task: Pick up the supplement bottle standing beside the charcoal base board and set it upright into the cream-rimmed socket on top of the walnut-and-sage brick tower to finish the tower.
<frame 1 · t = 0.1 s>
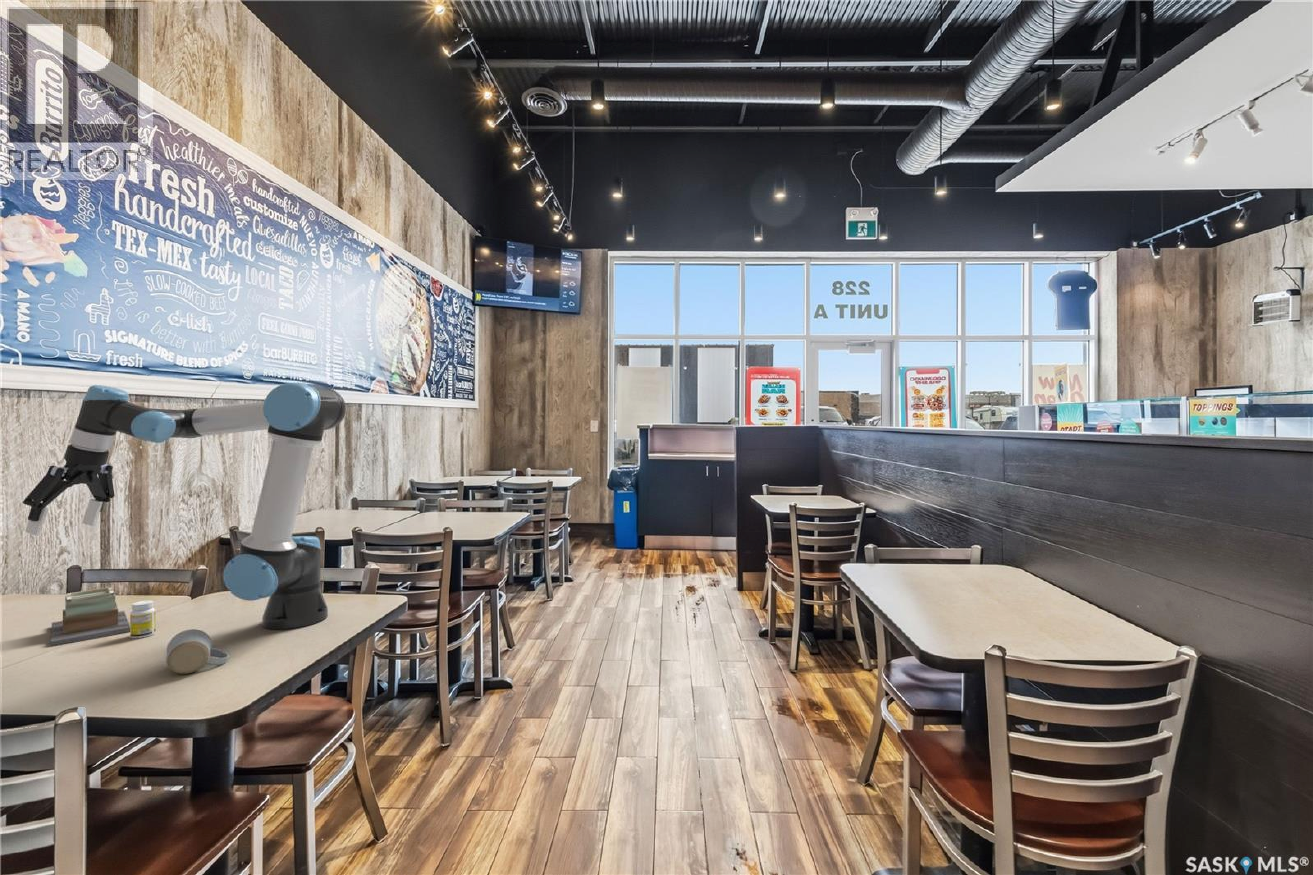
hand: (61, 528, 140), 28 cm above the table, tool tilted 20°, fingers open, 13 cm apart
ceramic mug: (197, 668, 125), on the table
supplement bottle: (143, 636, 144), on the table
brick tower: (90, 629, 149), on the table
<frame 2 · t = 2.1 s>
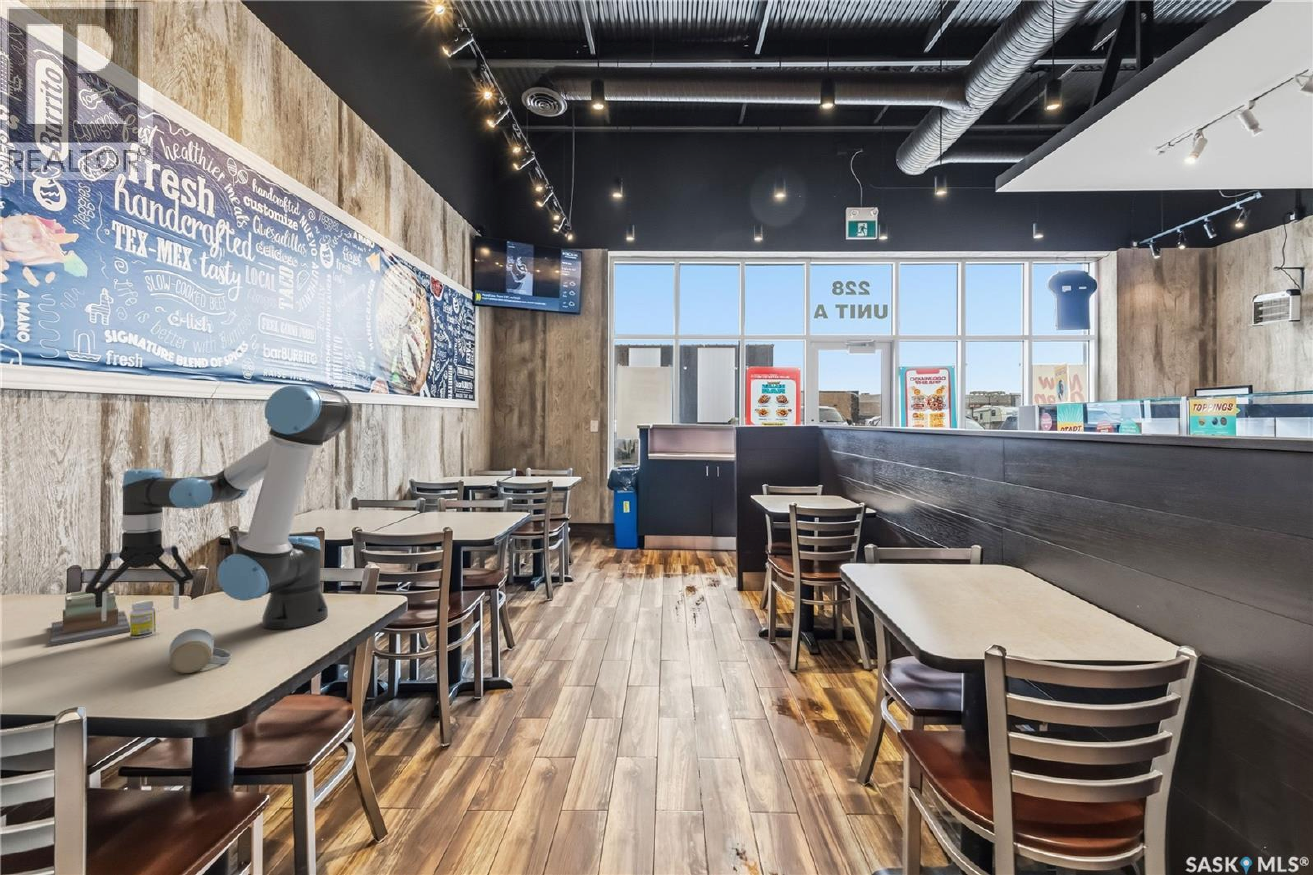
hand: (141, 613, 144), 5 cm above the table, tool pointing down, fingers open, 13 cm apart
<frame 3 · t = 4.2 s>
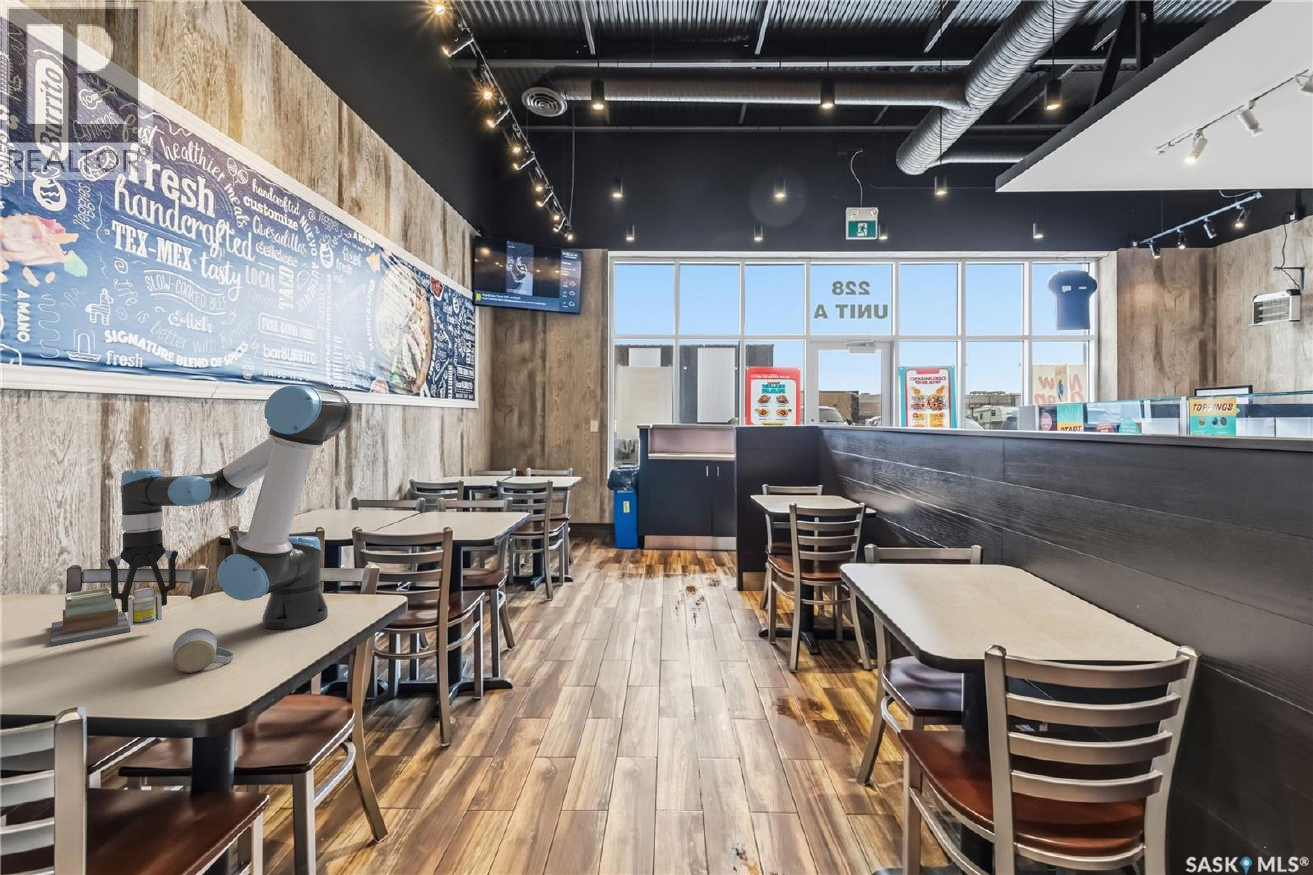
hand: (145, 621, 144), 4 cm above the table, tool pointing down, fingers closed on supplement bottle, 5 cm apart
supplement bottle: (145, 623, 144), point 3 cm above the table, touching gripper
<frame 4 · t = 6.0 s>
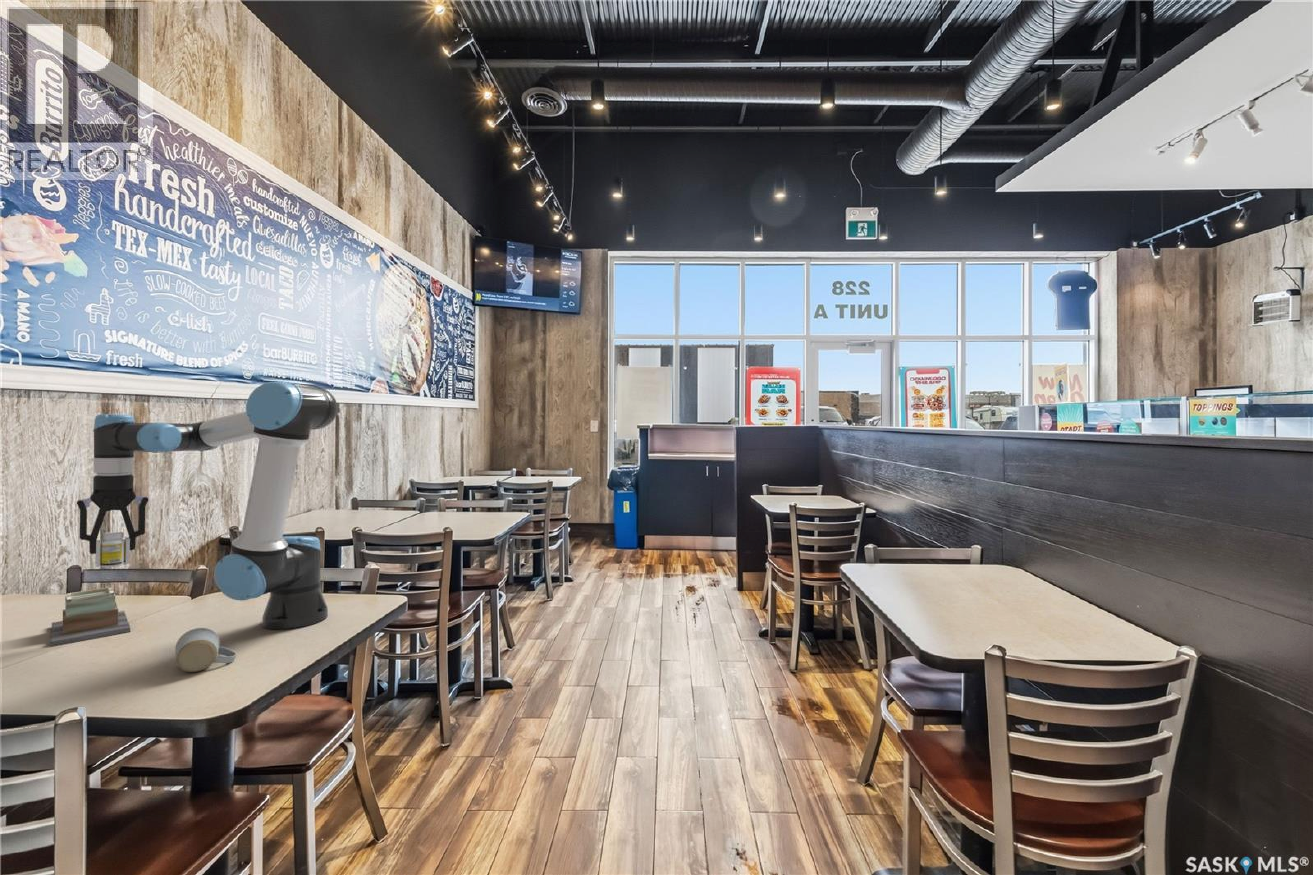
hand: (112, 564, 147), 18 cm above the table, tool pointing down, fingers closed on supplement bottle, 5 cm apart
supplement bottle: (112, 566, 146), point 17 cm above the table, touching gripper
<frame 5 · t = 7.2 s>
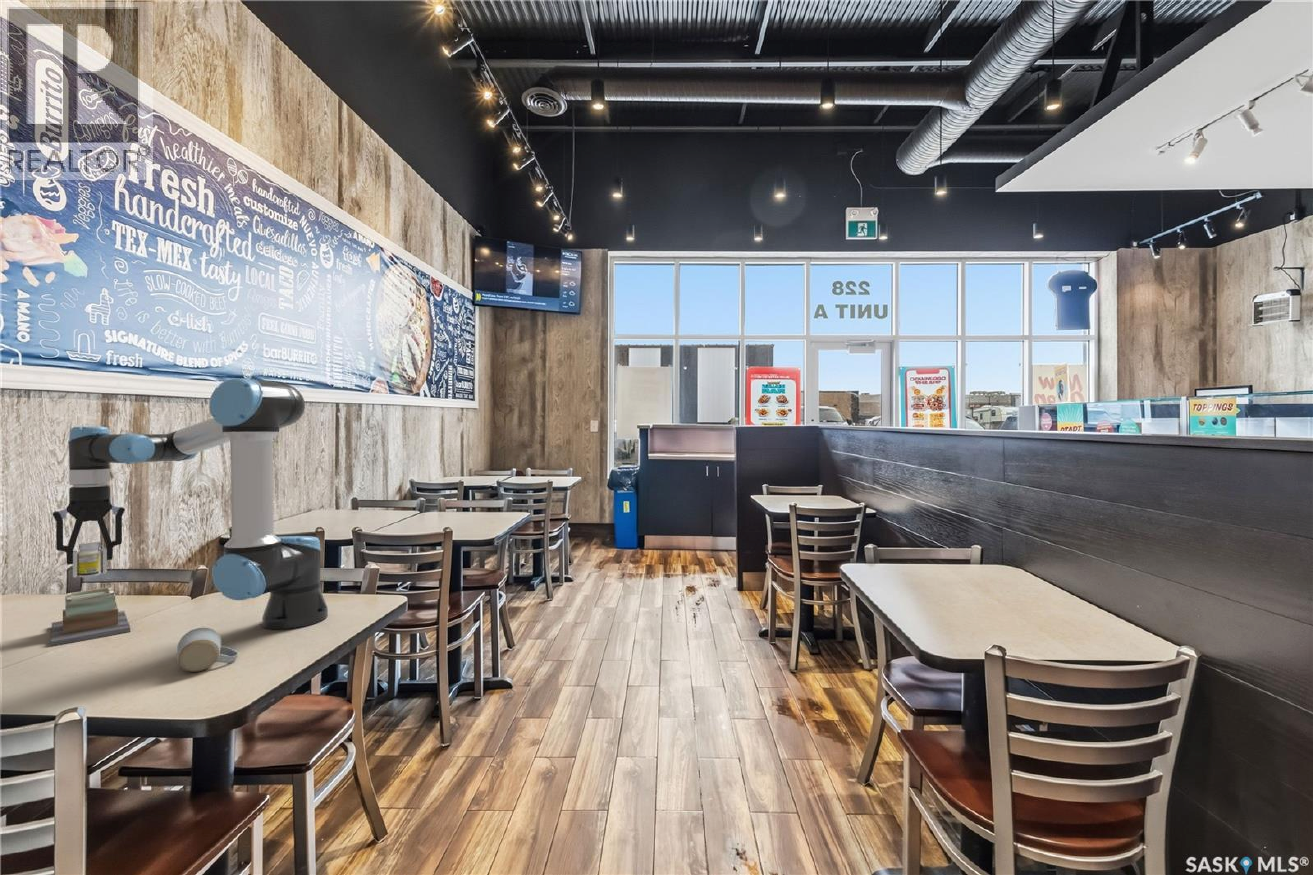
hand: (90, 574, 149), 14 cm above the table, tool pointing down, fingers closed on supplement bottle, 5 cm apart
supplement bottle: (89, 576, 149), point 14 cm above the table, touching gripper
when the fingers open (11 cm above the table, at t = 8.2 s): supplement bottle drops 2 cm, resting on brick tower.
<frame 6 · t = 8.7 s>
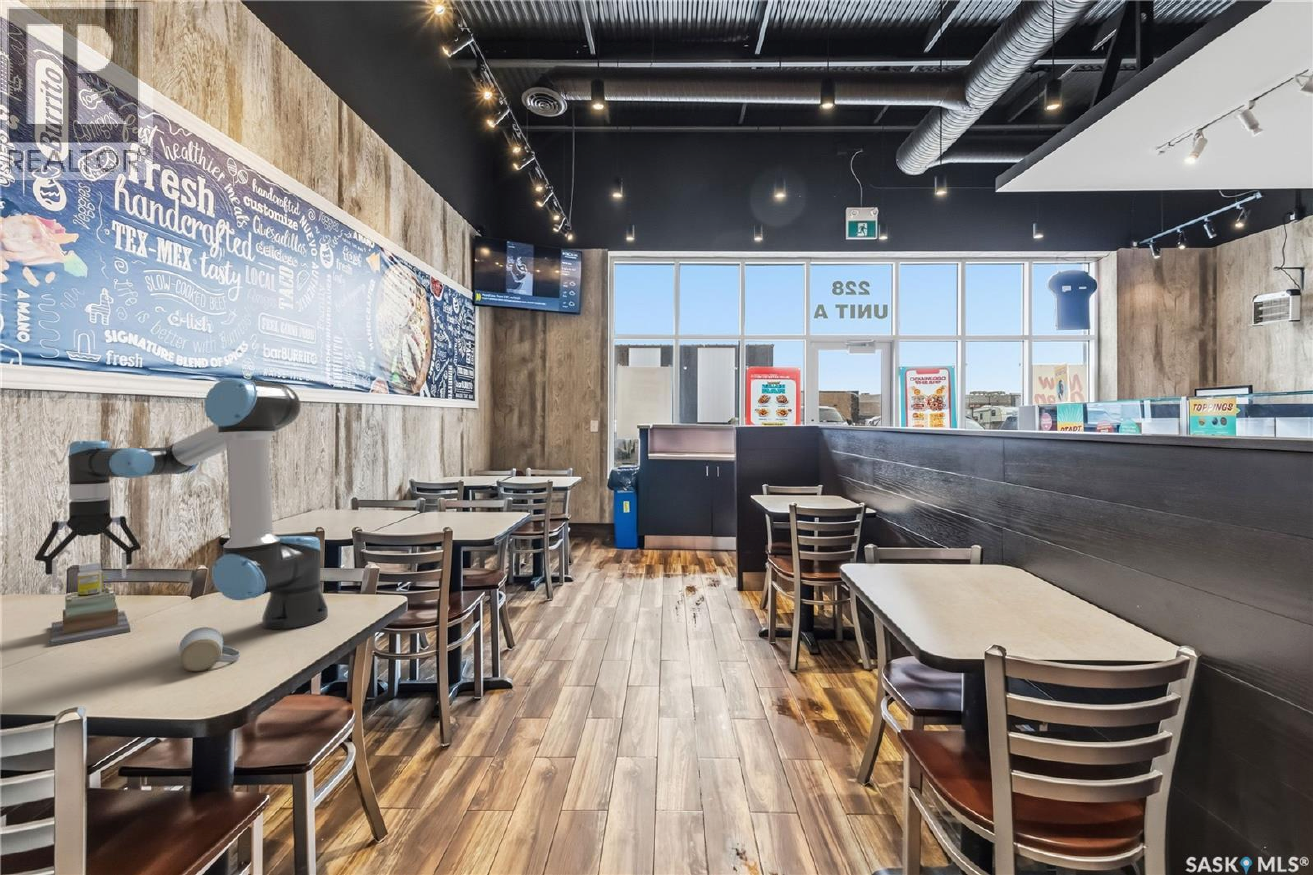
hand: (90, 582, 149), 12 cm above the table, tool pointing down, fingers open, 12 cm apart
supplement bottle: (90, 596, 149), point 9 cm above the table, touching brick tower
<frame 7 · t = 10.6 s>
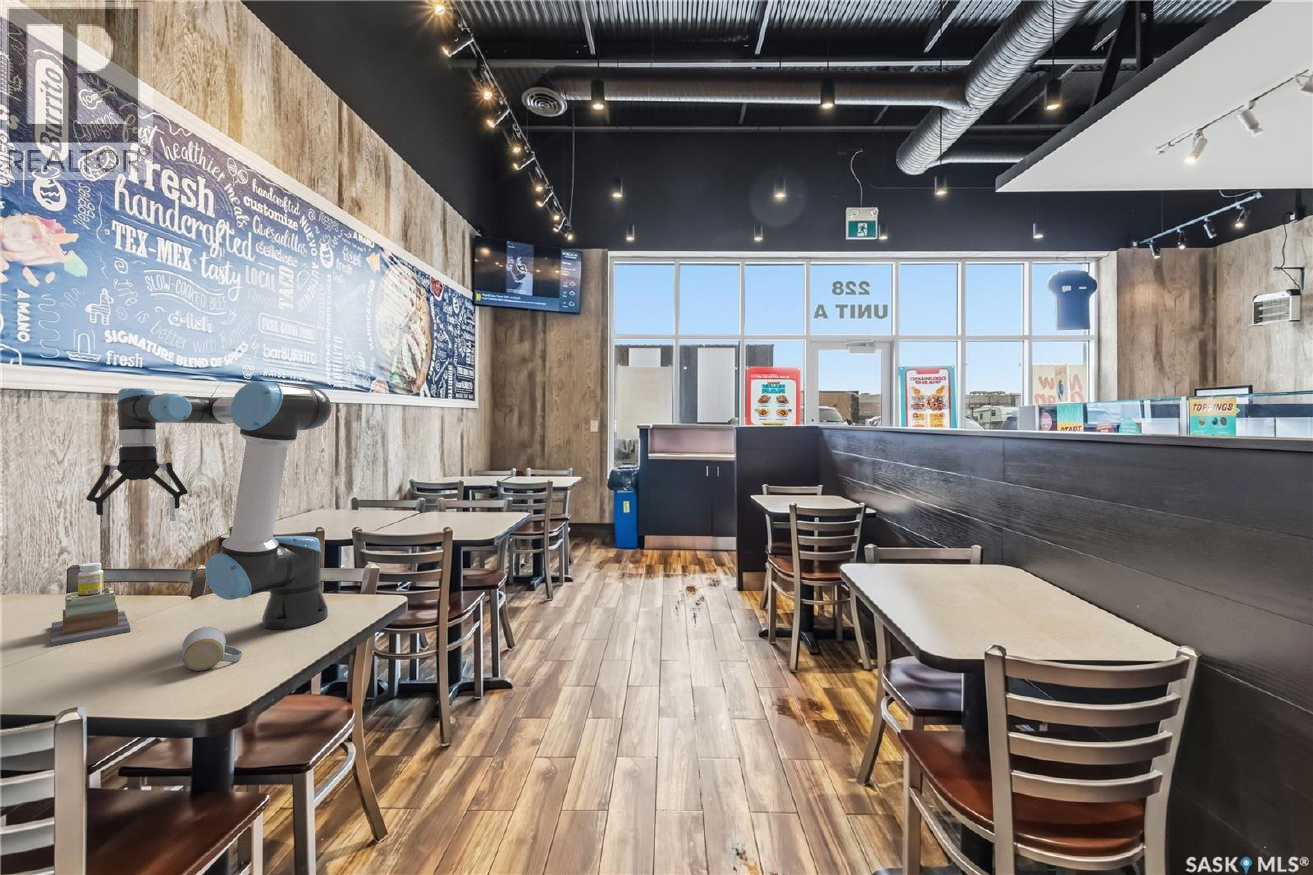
hand: (139, 524, 154), 27 cm above the table, tool pointing down, fingers open, 13 cm apart
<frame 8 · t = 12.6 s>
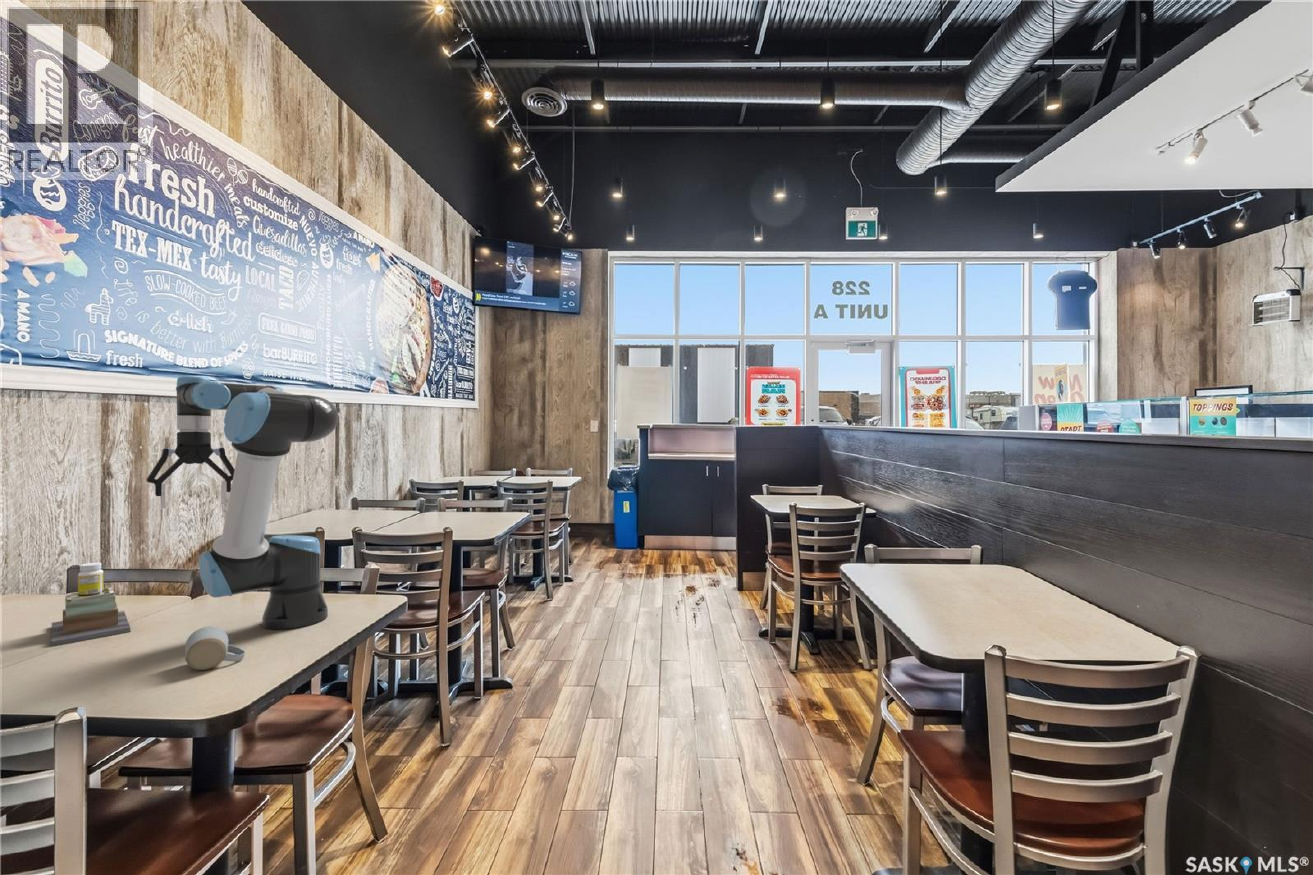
hand: (194, 505, 162), 31 cm above the table, tool pointing down, fingers open, 13 cm apart
at the end: supplement bottle 0.1 cm off-centre on the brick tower, point 8.5 cm above the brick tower's base; supplement bottle tilted 0°; the gripper is holding nothing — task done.
